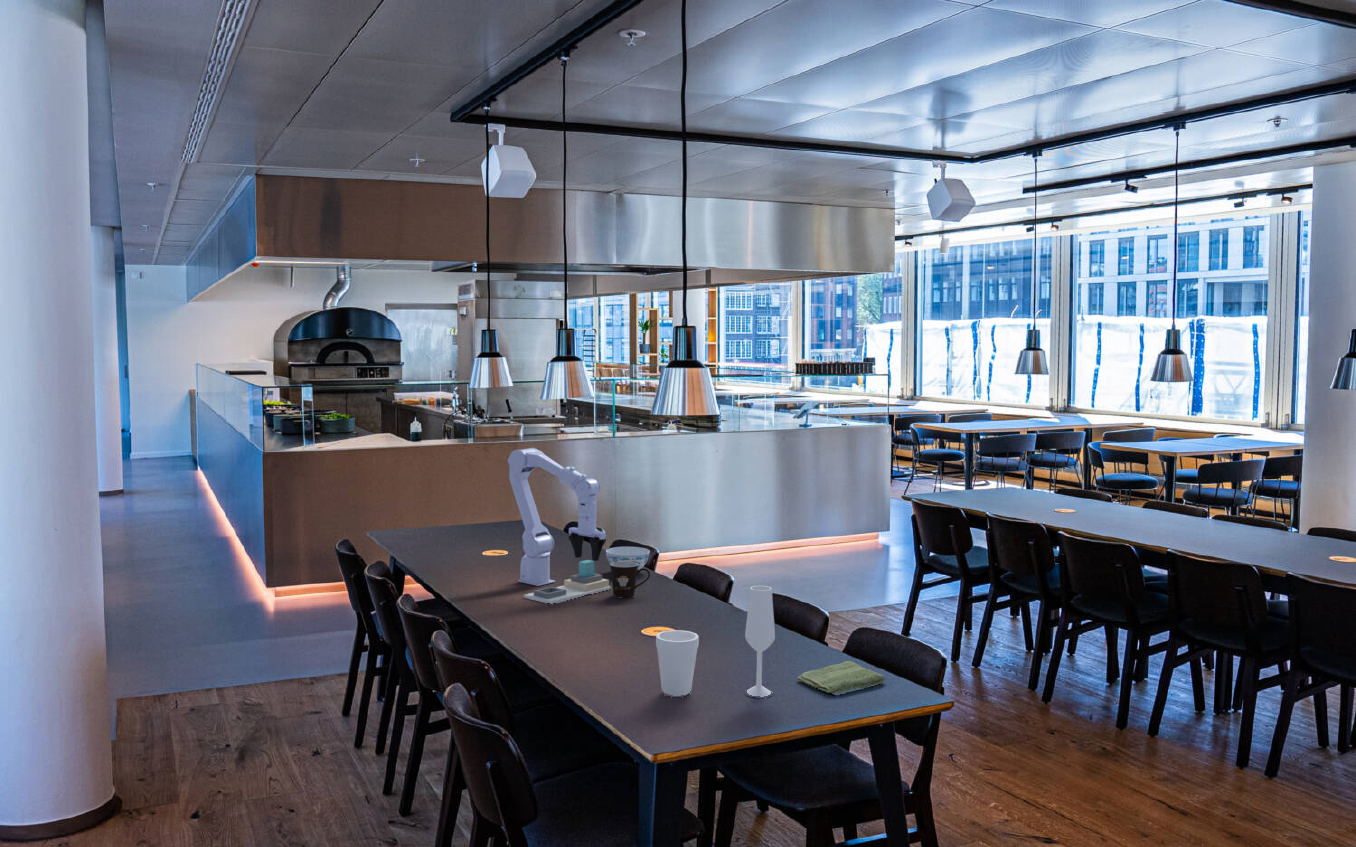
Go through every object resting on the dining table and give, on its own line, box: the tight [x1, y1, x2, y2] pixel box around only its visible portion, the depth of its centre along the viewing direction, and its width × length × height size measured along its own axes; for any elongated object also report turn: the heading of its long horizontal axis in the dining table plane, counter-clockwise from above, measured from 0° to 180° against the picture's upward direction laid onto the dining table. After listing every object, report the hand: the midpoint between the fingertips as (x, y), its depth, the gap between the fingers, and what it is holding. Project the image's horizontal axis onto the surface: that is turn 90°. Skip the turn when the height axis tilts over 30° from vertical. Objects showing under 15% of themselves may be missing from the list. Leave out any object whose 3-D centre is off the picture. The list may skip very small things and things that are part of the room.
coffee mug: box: [609, 561, 651, 599], centre depth 317 cm, size 12×9×10 cm
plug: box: [578, 559, 596, 578], centre depth 325 cm, size 3×4×6 cm
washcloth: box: [796, 660, 886, 694], centre depth 237 cm, size 13×18×3 cm
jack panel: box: [524, 572, 612, 605], centre depth 319 cm, size 12×26×4 cm, turn 141°
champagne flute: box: [744, 585, 776, 697], centre depth 228 cm, size 7×7×24 cm
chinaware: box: [605, 546, 651, 570], centre depth 350 cm, size 15×15×8 cm
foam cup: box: [655, 629, 700, 696], centre depth 228 cm, size 10×9×13 cm
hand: (586, 558), depth 325 cm, fingers open, 7 cm apart
